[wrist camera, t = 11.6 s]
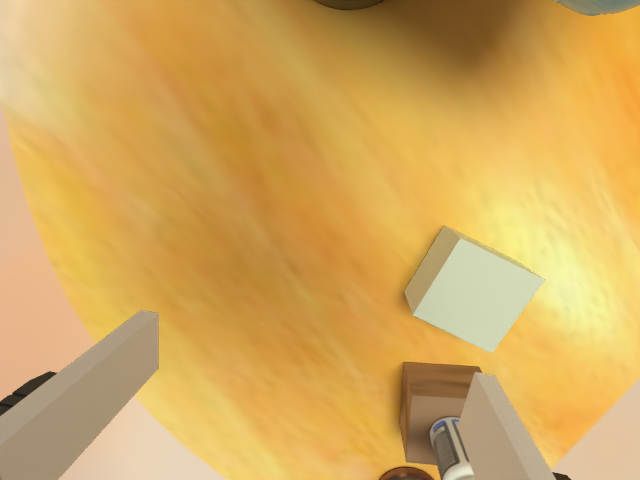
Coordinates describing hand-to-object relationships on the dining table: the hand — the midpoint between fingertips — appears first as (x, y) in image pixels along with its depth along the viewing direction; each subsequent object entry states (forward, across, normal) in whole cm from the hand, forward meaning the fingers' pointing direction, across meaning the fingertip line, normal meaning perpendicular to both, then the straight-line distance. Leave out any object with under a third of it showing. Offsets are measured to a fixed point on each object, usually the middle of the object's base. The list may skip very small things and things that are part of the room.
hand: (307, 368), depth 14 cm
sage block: (+26, +14, -4) cm, 30 cm away
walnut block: (+26, +16, -20) cm, 36 cm away
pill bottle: (+20, +16, -20) cm, 32 cm away
